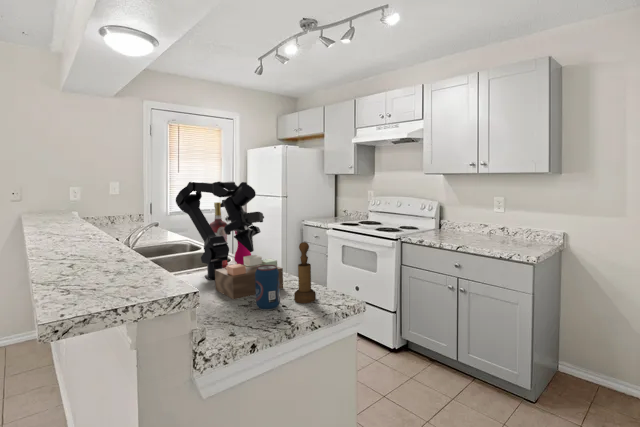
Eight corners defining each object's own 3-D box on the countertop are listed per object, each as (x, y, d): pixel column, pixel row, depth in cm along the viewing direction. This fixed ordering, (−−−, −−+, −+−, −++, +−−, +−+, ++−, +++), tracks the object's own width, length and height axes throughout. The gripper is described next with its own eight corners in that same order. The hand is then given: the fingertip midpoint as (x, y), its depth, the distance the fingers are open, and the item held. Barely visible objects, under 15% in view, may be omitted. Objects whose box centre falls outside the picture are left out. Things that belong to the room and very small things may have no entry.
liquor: (215, 270, 154) (212, 203, 152) (208, 267, 160) (205, 202, 157) (231, 267, 159) (229, 202, 156) (224, 264, 165) (221, 201, 162)
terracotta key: (227, 273, 121) (226, 265, 121) (239, 270, 124) (239, 263, 123) (233, 275, 117) (232, 268, 117) (245, 273, 120) (245, 266, 120)
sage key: (259, 267, 128) (259, 260, 128) (270, 265, 131) (270, 258, 131) (266, 269, 125) (266, 262, 125) (277, 267, 128) (277, 260, 127)
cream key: (243, 263, 124) (243, 256, 124) (255, 261, 127) (255, 254, 127) (250, 266, 121) (249, 258, 121) (261, 263, 124) (261, 256, 123)
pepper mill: (248, 270, 153) (246, 222, 151) (231, 270, 155) (229, 222, 153) (254, 266, 160) (253, 220, 158) (239, 266, 162) (237, 220, 160)
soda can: (252, 305, 110) (251, 266, 109) (274, 301, 114) (273, 263, 112) (261, 312, 104) (259, 271, 103) (283, 308, 107) (282, 267, 106)
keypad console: (215, 289, 127) (214, 268, 126) (262, 280, 138) (262, 260, 138) (233, 299, 116) (232, 276, 115) (283, 288, 127) (282, 267, 127)
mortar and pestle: (299, 304, 110) (298, 245, 109) (291, 298, 116) (289, 241, 114) (319, 301, 113) (318, 242, 112) (310, 295, 119) (308, 239, 117)
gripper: (244, 196, 123) (262, 238, 119) (264, 206, 141) (280, 243, 137) (216, 212, 124) (233, 254, 121) (239, 219, 142) (254, 256, 139)
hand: (252, 251), depth 129 cm, fingers closed
